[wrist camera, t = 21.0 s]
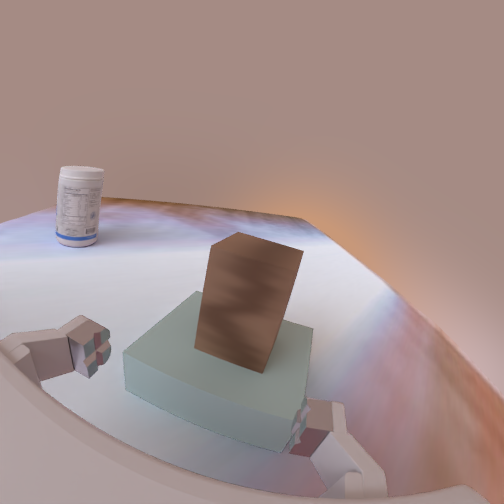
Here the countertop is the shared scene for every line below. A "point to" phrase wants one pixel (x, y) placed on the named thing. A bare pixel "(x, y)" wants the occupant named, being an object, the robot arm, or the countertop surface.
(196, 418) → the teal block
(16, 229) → the countertop surface
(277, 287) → the walnut box
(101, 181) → the supplement tub
